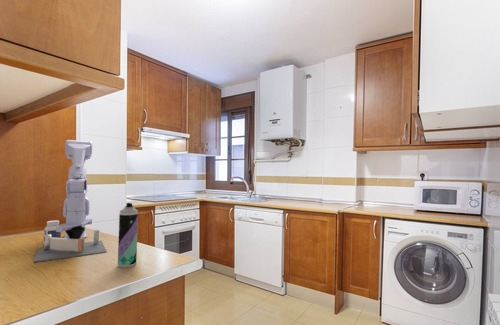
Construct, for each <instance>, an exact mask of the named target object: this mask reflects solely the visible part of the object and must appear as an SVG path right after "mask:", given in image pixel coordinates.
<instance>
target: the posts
mask: <svg viewBox="0 0 500 325" xmlns="http://www.w3.org/2000/svg"><path fill="white" fill-rule="evenodd" d="M51 238H52V234H47V235H45V246H44V245H43V247H44V251H49V250H51V249H50V239H51ZM99 238H100V229H94V230H93V241H94V245H96V244H98V243H99V241H100V239H99Z"/></svg>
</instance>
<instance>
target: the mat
mask: <svg viewBox="0 0 500 325" xmlns="http://www.w3.org/2000/svg"><path fill="white" fill-rule="evenodd" d="M104 253H108V252H107V249H106V246H105V245H104V243H103V241H102V240H99V243H98V244H96V245H94V240H93V241H86V242H85V241H84V251H82V252H78V251H71V250H57V249H51V250H49V251H44V246H43V247H38V248H37V252H36V254H35V257H34V259H33V262H32V263H33V264H35V263H40V262H41V263H42V262H48V261H56V260H64V259H71V258H77V257H83V256H88V255H89V256H90V255H91V256H92V255H97V254H98V255H99V254H104Z"/></svg>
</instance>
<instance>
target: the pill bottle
mask: <svg viewBox="0 0 500 325" xmlns="http://www.w3.org/2000/svg"><path fill="white" fill-rule="evenodd" d="M56 226H60V220H54V219H53V220H48V221H46V227H44V230H43V247H44V246H45V235H47V234H52V238H62V234H61V233H62V232H56Z"/></svg>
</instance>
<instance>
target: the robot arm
mask: <svg viewBox="0 0 500 325" xmlns="http://www.w3.org/2000/svg"><path fill="white" fill-rule="evenodd" d="M64 153H65V156H66V158H67V159H69V160H71V162H72V165H71V166H69V167H68V175H67V177H68V179H67V180H66V183H65V191H66V192H65V193H66V198H65V199H64V201H63V206H62V207H63V208H62V212H63V214H62V215H63V217H64V218H65V220H66V221H65V223H63V224H59V225H58V226H56V232H61V233H63V232H65V234H64V238H69V239H80V238H84V239H85V238H87V233H86V226H88V225H93V219H92V218H87V217H88V216H89V215H90V199H89V198H88V197H86V193H87V192H88V179H87V178H88V177H87V167H86V166H85V165H84V164H85V162H86V161H88V160H90V159H91V157H92V153H93V142H92V140H88V141H87V140H76V139H67V140H65V148H64Z"/></svg>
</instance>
